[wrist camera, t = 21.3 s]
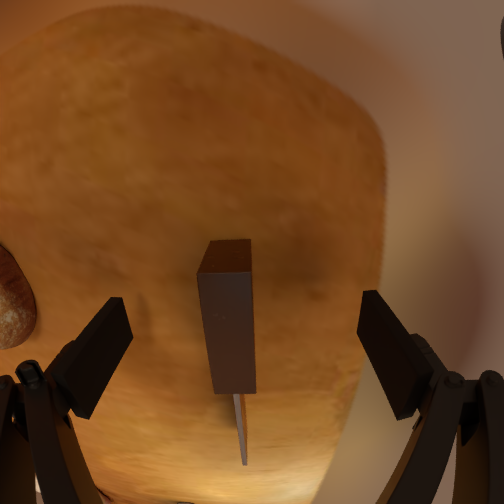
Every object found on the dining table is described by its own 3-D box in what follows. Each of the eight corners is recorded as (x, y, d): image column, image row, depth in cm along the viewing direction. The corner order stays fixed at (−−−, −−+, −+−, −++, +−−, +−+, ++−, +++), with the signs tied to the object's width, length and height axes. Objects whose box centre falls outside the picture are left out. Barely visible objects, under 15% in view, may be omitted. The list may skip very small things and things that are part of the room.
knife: (210, 240, 18) (196, 273, 13) (251, 238, 17) (251, 271, 13) (232, 428, 24) (230, 469, 19) (258, 428, 24) (259, 469, 19)
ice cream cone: (74, 469, 33) (95, 505, 35) (76, 486, 29) (98, 520, 31) (96, 469, 36) (114, 504, 37) (99, 486, 32) (118, 519, 33)
